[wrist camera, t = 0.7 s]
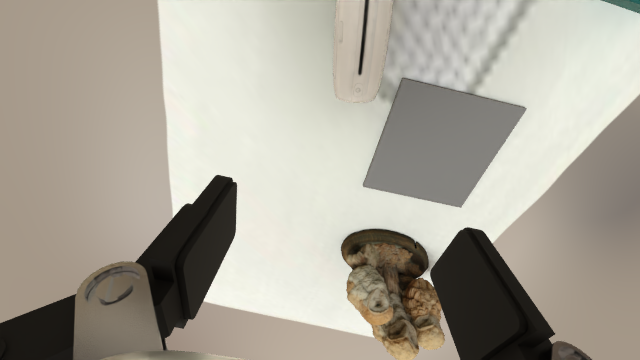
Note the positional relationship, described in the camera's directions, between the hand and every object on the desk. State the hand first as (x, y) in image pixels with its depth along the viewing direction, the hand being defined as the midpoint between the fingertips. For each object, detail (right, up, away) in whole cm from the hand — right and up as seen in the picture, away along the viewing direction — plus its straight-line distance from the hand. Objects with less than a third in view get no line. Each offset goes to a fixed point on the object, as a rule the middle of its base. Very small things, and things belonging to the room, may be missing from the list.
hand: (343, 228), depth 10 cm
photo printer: (+3, +19, +18) cm, 26 cm away
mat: (+15, +6, +24) cm, 29 cm away
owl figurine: (+12, -12, +36) cm, 40 cm away
